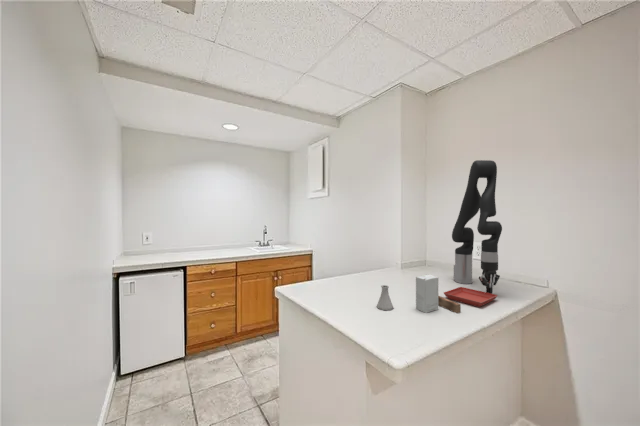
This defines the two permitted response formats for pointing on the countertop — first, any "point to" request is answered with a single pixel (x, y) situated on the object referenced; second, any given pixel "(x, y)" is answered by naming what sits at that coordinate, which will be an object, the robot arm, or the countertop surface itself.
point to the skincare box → (427, 293)
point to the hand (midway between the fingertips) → (489, 294)
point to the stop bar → (449, 304)
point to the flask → (384, 299)
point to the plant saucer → (470, 296)
